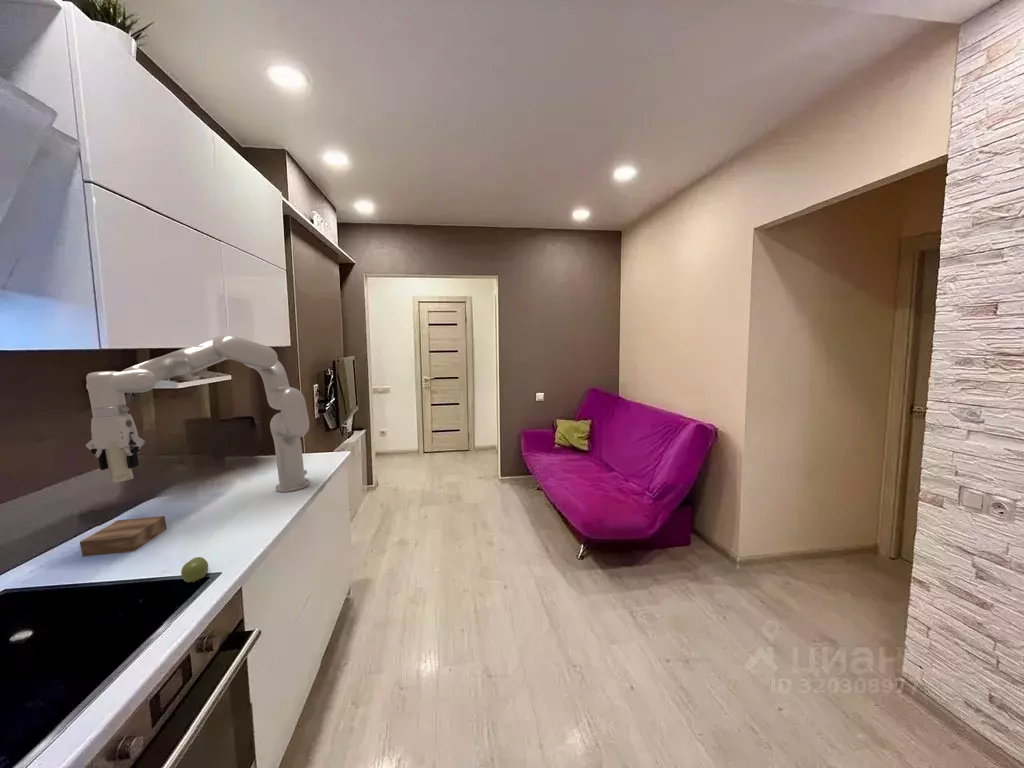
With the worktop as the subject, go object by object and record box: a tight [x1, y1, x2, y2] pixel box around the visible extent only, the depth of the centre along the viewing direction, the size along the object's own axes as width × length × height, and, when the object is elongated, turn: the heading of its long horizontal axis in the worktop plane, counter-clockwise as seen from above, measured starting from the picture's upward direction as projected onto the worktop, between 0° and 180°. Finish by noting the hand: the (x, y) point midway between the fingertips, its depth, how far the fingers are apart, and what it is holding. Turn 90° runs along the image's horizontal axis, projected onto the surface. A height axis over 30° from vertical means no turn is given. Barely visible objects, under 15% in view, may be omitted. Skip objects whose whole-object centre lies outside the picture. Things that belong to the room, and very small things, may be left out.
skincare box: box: [105, 443, 135, 483], centre depth 126 cm, size 6×4×12 cm
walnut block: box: [79, 515, 168, 557], centre depth 129 cm, size 14×14×5 cm
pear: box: [180, 556, 209, 584], centre depth 109 cm, size 6×5×10 cm
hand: (119, 467), depth 127 cm, fingers closed on skincare box, 7 cm apart
